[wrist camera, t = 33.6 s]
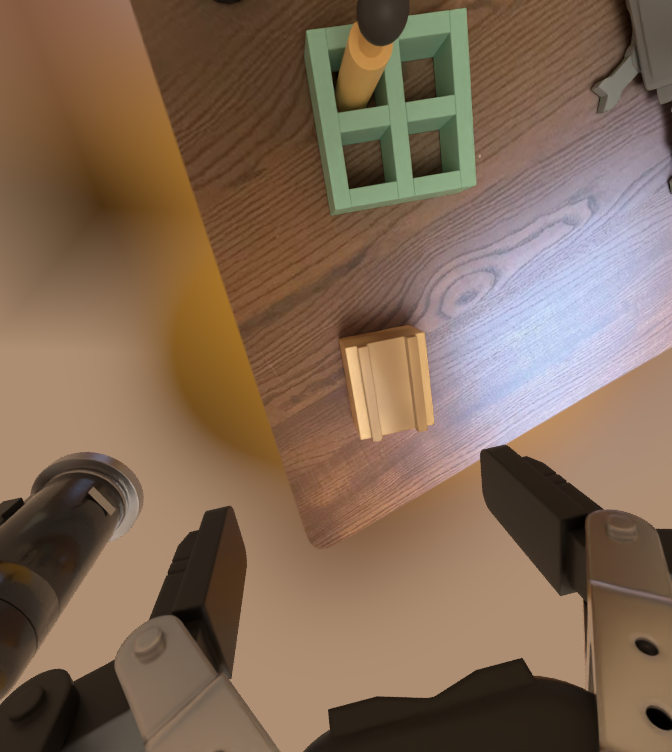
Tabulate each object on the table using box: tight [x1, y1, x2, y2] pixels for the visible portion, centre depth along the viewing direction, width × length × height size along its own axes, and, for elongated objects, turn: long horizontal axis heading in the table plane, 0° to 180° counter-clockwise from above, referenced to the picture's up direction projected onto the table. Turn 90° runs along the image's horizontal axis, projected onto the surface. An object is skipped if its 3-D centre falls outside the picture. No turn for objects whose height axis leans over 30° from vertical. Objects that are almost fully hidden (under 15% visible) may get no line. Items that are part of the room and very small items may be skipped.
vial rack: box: [304, 8, 476, 216], centre depth 34 cm, size 13×13×4 cm
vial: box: [334, 0, 409, 112], centre depth 28 cm, size 14×3×3 cm
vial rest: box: [339, 325, 434, 442], centre depth 40 cm, size 8×10×6 cm
